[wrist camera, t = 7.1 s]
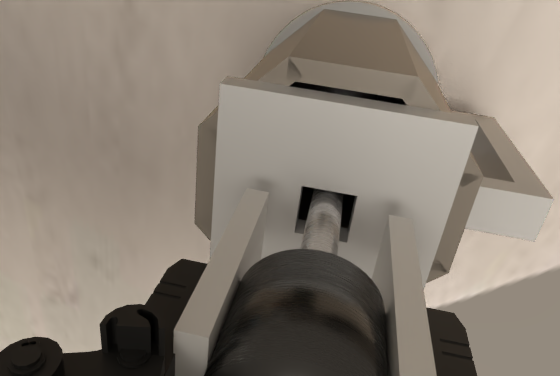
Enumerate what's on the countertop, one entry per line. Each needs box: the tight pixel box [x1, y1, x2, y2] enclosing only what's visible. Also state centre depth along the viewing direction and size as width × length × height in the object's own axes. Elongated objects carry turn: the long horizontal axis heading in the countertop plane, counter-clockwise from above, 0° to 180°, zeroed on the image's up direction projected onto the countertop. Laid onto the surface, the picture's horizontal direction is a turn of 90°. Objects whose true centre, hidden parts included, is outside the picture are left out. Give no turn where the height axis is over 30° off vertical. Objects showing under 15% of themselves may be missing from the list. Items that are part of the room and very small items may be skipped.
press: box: [195, 0, 554, 290], centre depth 24 cm, size 14×12×16 cm
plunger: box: [204, 81, 406, 376], centre depth 18 cm, size 8×8×20 cm
